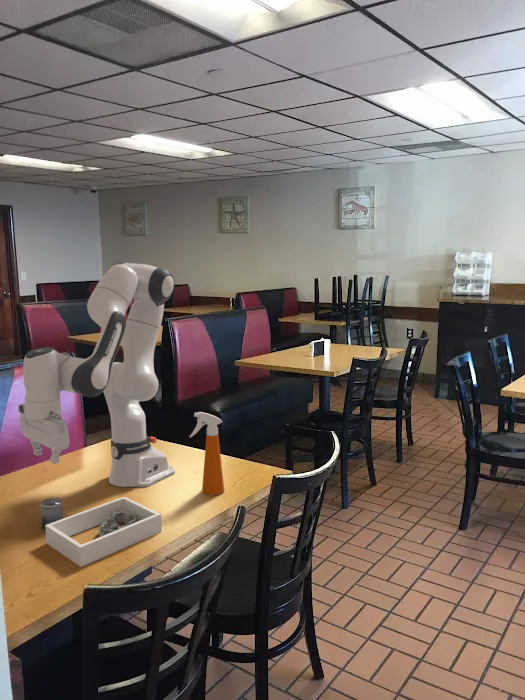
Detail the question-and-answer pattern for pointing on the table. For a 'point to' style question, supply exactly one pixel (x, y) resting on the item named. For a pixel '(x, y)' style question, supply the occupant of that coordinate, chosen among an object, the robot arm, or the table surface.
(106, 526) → the egg carton
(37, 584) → the table surface
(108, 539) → the tote
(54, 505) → the metal tin
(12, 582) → the table surface
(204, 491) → the spray bottle
